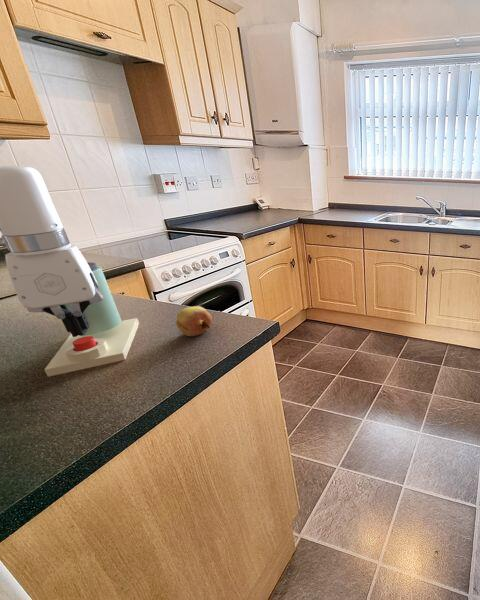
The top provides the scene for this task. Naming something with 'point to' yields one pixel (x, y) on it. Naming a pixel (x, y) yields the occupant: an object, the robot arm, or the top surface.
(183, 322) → the fruit
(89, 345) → the switch
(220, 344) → the top surface
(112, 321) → the kettle
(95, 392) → the top surface
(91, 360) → the kettle base
